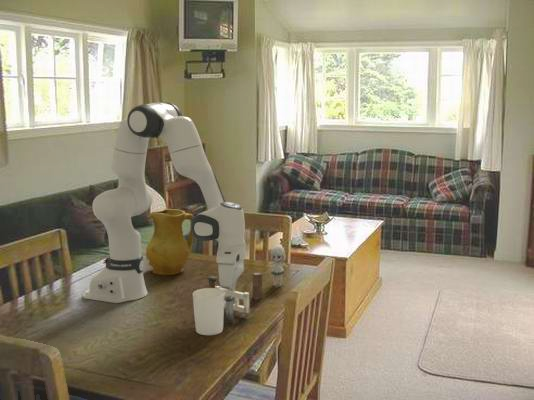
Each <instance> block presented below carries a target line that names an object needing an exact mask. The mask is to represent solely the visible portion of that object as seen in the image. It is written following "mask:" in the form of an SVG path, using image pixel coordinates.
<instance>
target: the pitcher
mask: <svg viewBox="0 0 534 400" xmlns="http://www.w3.org/2000/svg"><path fill="white" fill-rule="evenodd" d="M148 216H149V217H150V218H151V220H152V222H153V223H154V224H153V225H154V228H153V229H154V230H153V234H152V237H151V238H150V240H149V242H148V244H147V246H146V252H145V256H146V259H147V260H148V262H149V263H148V265H149V266H151V267H152V268H153V270H152V274H154V275H155V274H156V275H161V276H175V275H179V274H181V273H183V272H184V268H183V267H184V266H186V264H187V263H188V261H189V260H190V259H189V258H190V255H191V252H192V249H193V245H194V239H195V237H194V235H193V234H192V232H191V226H189V227H190V229H189V235H188V240H187V239H186V237H185V235H184V231H183V223H184V221H186V220H187V219H188V220H189V221H190V222H191V221H192V219H193V217H194V216H195V215H193V214H192V213H187V212H186V211H185V210H181V209H175V208H164V209H163V210H159V211H153V212H151V213H149V215H148Z"/></svg>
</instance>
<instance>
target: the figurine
mask: <svg viewBox="0 0 534 400" xmlns="http://www.w3.org/2000/svg"><path fill="white" fill-rule="evenodd" d="M269 255H270V261H271V262H270V263H269V264H267V265H266V266H265V268H267V269H268V267H270V266H273V265H274V266H273V267H272V269H271V274H272V275H273V276H272V277H273V286H276V284H277V276H278V278H279V281H280V282H279V287H281V286H282V285H283V275H284V274H285V270H284V268H287V270H288V271H292V269H291V268H290V266H289V267H288V265H287V264H286V263H285V261H286V260H287V256H286V251H285V248H284V247H283V246H281V245H275V246H273V247H272V248H271V250H270V252H269ZM272 260H273V261H272ZM283 267H284V268H283Z"/></svg>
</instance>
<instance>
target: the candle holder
mask: <svg viewBox="0 0 534 400" xmlns="http://www.w3.org/2000/svg"><path fill="white" fill-rule="evenodd" d="M192 301H193V302H192V303H193V314H194V315H193V316H194V323H195V324H194V325H195V326H194V327H195V331H196V333H197V334H199V335H201V336H202V335H203V336H216V335H219V334H221V333H222V332H223V330H224V322H225V321H224V318H225V316H224V315H225V308H224V301H225V292H224V291H223V290H221V289H217V288H209V287H205V288H200V289H199V288H198V289H196V290H194V291H193V292H192Z"/></svg>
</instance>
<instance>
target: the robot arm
mask: <svg viewBox="0 0 534 400" xmlns="http://www.w3.org/2000/svg"><path fill="white" fill-rule="evenodd" d="M159 137H160V138H162V139H163V141H165V143H166V145H167V148H168V152H169V156H170V159H171V163H172V165H173V167H174V169H175V171H176V172H177V173H178V174H179V175H181V176H183V177H185V178H188V179H190V180H193V181H194V182H195V183H196V184H197V185H198V186H199V188H200V190H201V192H202V195H203V199H204V201H205V204H206V206H207V210H204V211H201V212H200V213H198V214H196V215H193V216H194V217H193V219H192V221H190V227H191V232H192V234H193V235H194V239H196V240H198V241H200V242H210V241H214V240H216V241H217V242H218V244H217V245H218V246H217V247H218V249H217V255H216V260H215V262H216V263H217V265H218V267H217V268H218V271H217V272H218V282H219V286H221V288H229V290H233V291H237V283H238V279H239V278H240V276H241V275H242V273H243V272H244V270H245V264H244V263H245V262H244V261H245V260H244V259H245V258H246V240H245V232H246V231H245V230H246V223H245V219H246V218H245V213H244V212H245V211H244V209H243V207H242V206H241V204H238V203H236V202H231V201H226V200H225V197H224V195H223V192H222V190H221V189H222V188H221V187H220V184H219V181H218V179H217V176H216V174H215V171H214V169H213V167H212V166H211V165H210V161H208V158H207V155H206V153H205V149H204V147H203V142H202V140H201V137H200V135H199V131H198V130H197V127H196V125H195V123H194V121H193V120H192V119H191V118H190V117H188V116H184V115H183V113H182V111H181V109H180V108H179V107H178V106H177V105H176V104H174V103H171V102H151V103H147V104H146V103H145V104H143V103H142V104H139V105H137V106H135V107H133V108H132V109H130V110H129V112H128V114H127V117H125V118H123V119H122V120H121V121H120V122H119V126H118V129H117V132H116V136H115V139H114V140H115V141H114V147H113V155H112V162H111V169H112V173H114V174H115V176H117V180H118V185H117V187H116V188H113V189H108V190H105V191H103V192H101V193H99V194H98V195H97V196H95V198H94V199H93V201H92V212H93V214H94V216H95V218H97V220H98V221H100V222H101V223H102V224H103V226H104V228H105V231H106V233H107V237H108V247H109V255H108V256H107V257H106V258H105V259H104V260H103V261H102V262H103V263H102V264H104V265H105V267H103V268H102V269H100V270H99V272H97V273H96V274H95V275H94V276H93V277H91V280H90V281H89V282H90V283H89V288H88V289H86V290H85V291H84V292H83V294H82V295H83V296H82V297H83V299H85V300H86V299H87V300H93V301H99V302H100V301H101V302H106V303H114V304H120V303H123V302H129V301H136V300H138V299H141V298H144V297H146V296H147V295H148V294H149V292H148V290H147V287H146V284H145V283H146V282H145V278H144V255H143V254H142V236H141V233H140V232H139V231H138V230H137V229H135V228H134V226H133V223H132V217H136V216H139V215H141V214H143V213H145V212H146V211H148V210H149V209H150V208H151V207H152V204H153V194H152V192H151V190H150V189H149V188H148V187H147V184H146V183H147V182H146V178H145V177H146V176H145V169H146V159H147V154H148V153H147V152H148V146H149V140H150V138H153V139H156V138H159Z"/></svg>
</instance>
